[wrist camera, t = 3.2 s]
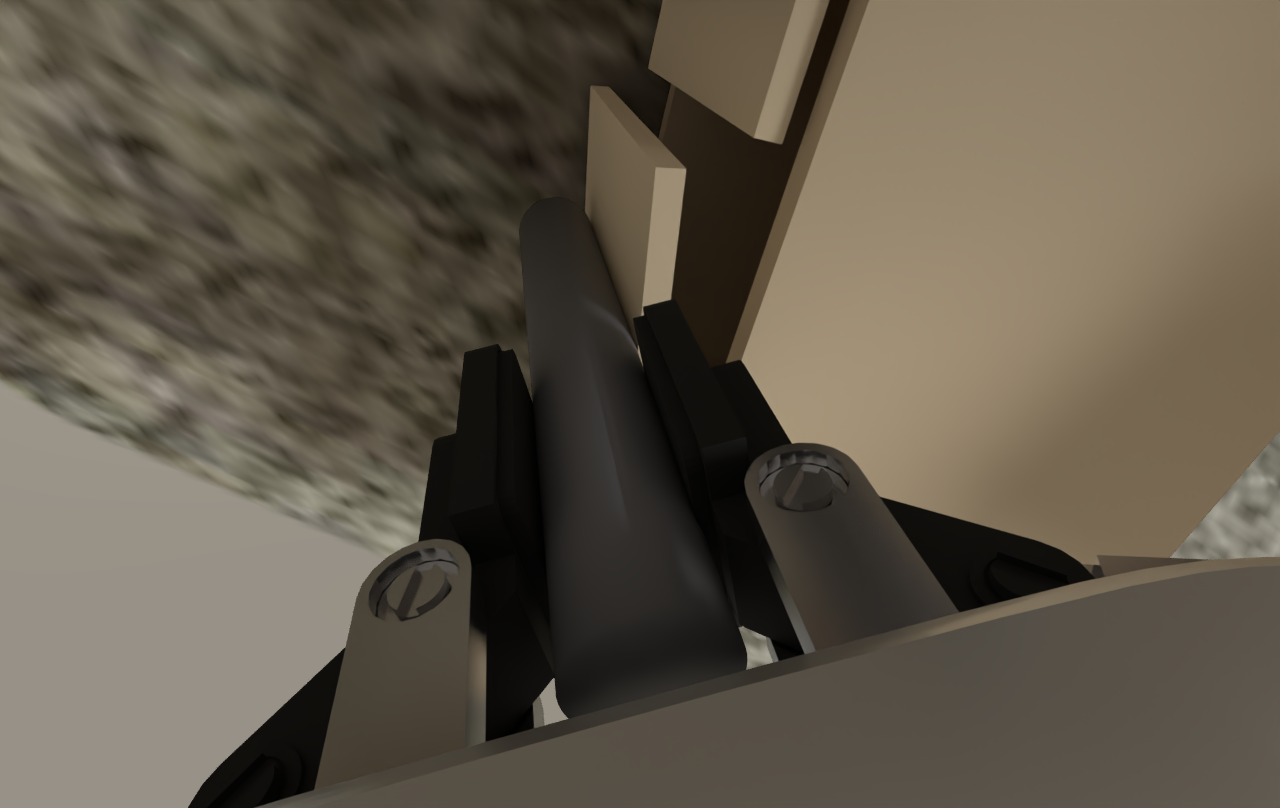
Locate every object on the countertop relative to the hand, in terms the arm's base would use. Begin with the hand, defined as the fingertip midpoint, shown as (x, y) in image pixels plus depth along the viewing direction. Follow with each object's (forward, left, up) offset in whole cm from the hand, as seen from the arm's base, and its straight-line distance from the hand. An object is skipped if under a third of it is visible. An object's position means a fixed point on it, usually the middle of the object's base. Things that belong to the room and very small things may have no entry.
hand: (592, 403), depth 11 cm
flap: (0, +1, -10) cm, 10 cm away
